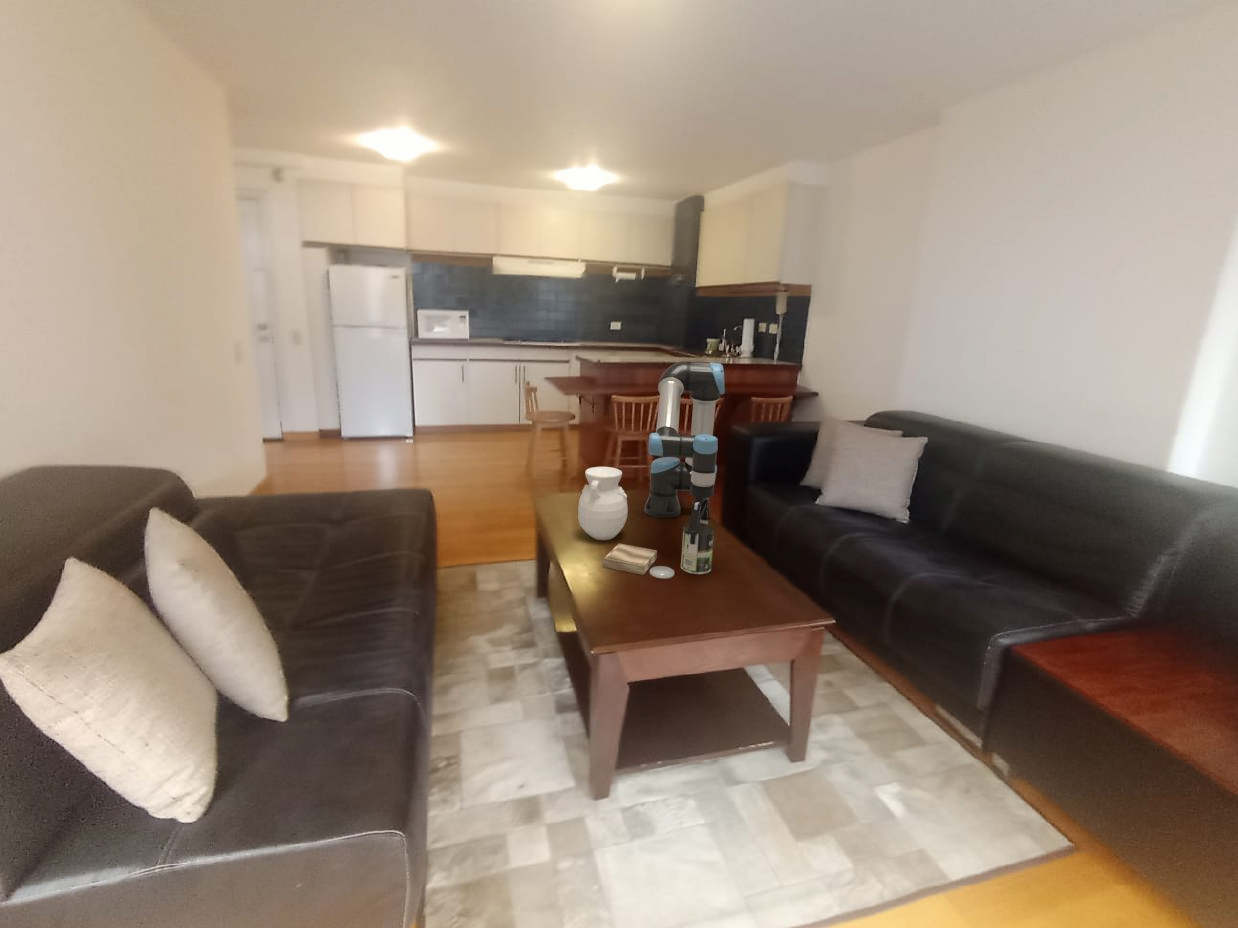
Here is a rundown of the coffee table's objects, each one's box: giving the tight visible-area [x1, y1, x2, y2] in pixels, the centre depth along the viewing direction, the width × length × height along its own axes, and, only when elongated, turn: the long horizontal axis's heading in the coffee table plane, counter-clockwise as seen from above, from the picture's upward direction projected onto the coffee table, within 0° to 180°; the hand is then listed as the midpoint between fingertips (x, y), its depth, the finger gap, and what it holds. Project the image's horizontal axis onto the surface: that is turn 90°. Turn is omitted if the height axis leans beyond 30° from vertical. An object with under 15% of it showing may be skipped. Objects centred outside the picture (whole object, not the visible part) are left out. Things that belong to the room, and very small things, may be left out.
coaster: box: [649, 565, 675, 579], centre depth 187 cm, size 8×8×1 cm
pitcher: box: [577, 466, 629, 541], centre depth 213 cm, size 19×18×25 cm
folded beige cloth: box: [602, 543, 658, 576], centre depth 194 cm, size 14×14×3 cm
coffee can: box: [680, 523, 716, 575], centre depth 191 cm, size 10×10×14 cm
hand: (697, 545), depth 190 cm, fingers open, 13 cm apart
